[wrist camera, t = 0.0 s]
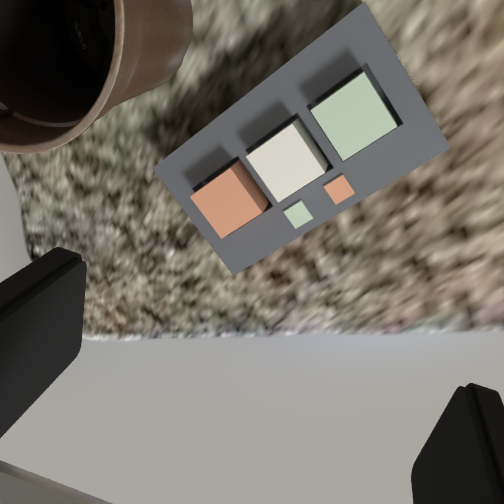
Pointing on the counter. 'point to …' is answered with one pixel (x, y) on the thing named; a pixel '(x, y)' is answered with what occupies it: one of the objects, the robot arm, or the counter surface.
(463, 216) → the counter surface
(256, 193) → the terracotta key
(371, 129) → the sage key
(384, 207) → the counter surface
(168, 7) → the plant pot
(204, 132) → the keypad
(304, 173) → the cream key
